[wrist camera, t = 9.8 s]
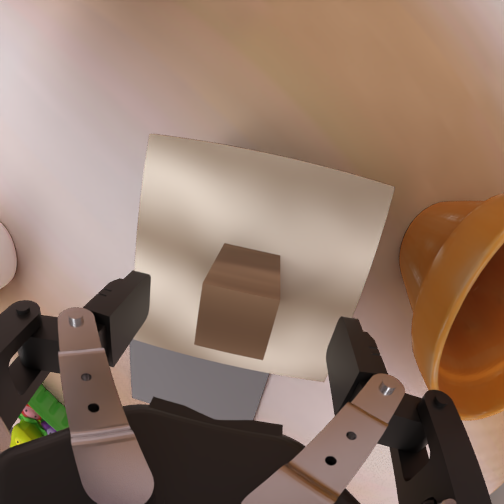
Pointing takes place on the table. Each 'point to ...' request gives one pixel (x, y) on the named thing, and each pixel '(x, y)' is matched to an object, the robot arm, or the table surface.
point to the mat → (195, 382)
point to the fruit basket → (39, 418)
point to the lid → (252, 253)
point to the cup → (6, 257)
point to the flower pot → (458, 301)
